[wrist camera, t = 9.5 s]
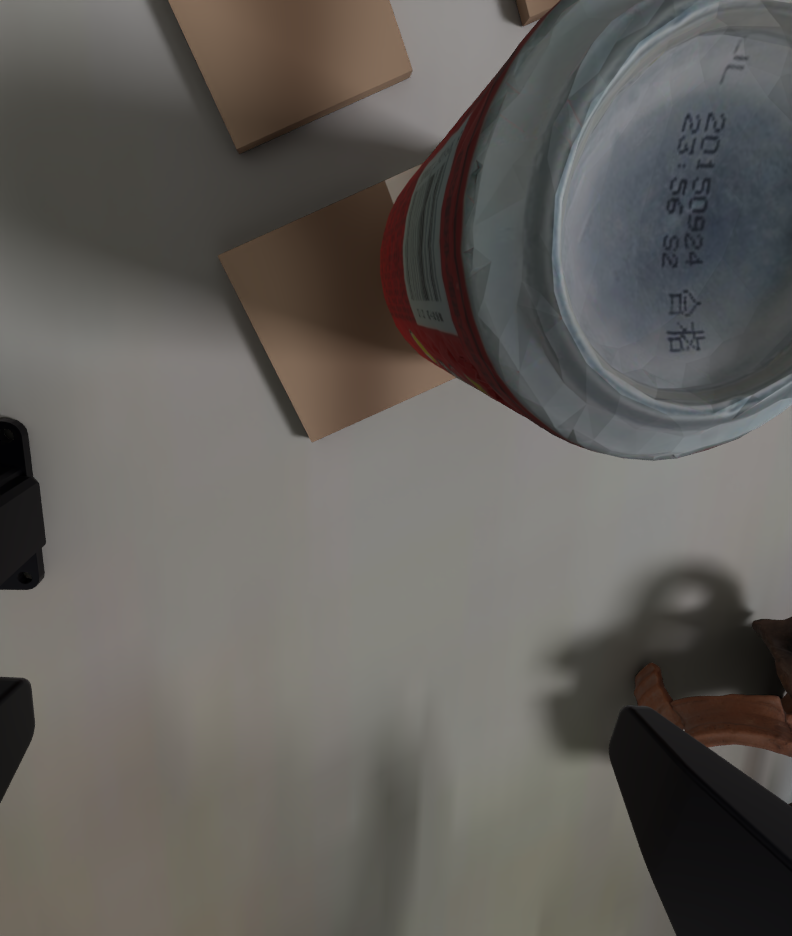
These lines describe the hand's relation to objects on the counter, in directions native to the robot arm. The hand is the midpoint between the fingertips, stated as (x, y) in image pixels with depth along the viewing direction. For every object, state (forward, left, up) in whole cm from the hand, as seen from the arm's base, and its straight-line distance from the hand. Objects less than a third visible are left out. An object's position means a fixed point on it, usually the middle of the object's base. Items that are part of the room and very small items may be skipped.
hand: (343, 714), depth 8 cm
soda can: (+5, +7, -13) cm, 16 cm away
